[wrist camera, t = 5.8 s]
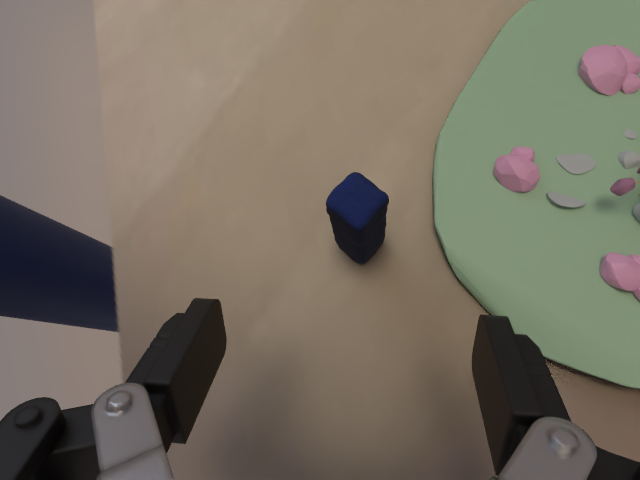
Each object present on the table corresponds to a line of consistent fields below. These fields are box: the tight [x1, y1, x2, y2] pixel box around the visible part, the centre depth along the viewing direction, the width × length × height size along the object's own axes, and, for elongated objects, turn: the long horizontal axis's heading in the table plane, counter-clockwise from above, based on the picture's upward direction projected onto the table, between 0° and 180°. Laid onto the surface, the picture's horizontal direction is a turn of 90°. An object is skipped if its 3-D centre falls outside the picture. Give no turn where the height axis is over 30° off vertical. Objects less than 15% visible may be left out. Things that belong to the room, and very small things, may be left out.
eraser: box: [326, 172, 389, 264], centre depth 22 cm, size 2×2×7 cm
